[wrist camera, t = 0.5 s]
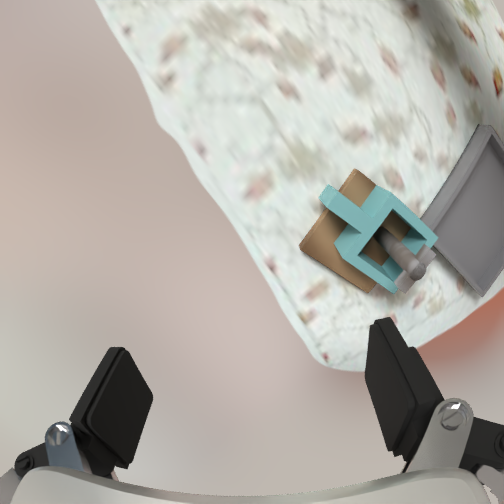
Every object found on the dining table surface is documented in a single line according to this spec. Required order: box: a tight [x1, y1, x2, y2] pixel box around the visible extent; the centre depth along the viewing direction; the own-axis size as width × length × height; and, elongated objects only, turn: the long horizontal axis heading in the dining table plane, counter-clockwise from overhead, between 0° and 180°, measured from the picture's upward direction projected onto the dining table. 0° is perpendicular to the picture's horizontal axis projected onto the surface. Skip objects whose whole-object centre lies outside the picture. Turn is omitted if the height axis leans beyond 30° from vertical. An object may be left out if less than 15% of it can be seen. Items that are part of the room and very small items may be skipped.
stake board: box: [299, 169, 436, 293], centre depth 30 cm, size 12×12×12 cm
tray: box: [420, 124, 504, 297], centre depth 32 cm, size 20×20×3 cm
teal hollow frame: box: [319, 184, 438, 294], centre depth 31 cm, size 9×14×4 cm, turn 58°
